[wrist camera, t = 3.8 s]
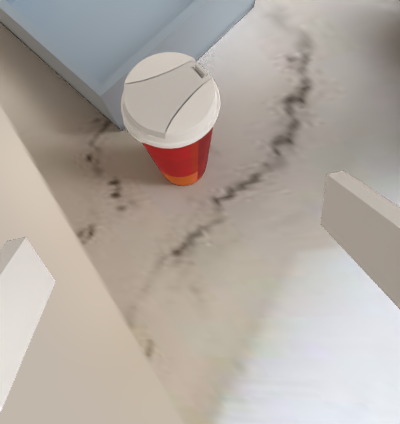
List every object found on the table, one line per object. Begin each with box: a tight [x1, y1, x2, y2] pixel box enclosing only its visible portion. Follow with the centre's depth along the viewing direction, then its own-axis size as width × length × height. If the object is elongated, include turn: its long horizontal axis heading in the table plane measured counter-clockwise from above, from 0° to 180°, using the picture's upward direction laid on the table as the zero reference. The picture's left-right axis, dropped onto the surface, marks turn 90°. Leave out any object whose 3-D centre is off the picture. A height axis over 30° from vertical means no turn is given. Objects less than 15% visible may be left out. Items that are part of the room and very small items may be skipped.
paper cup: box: [121, 52, 220, 186], centre depth 26 cm, size 8×8×14 cm
